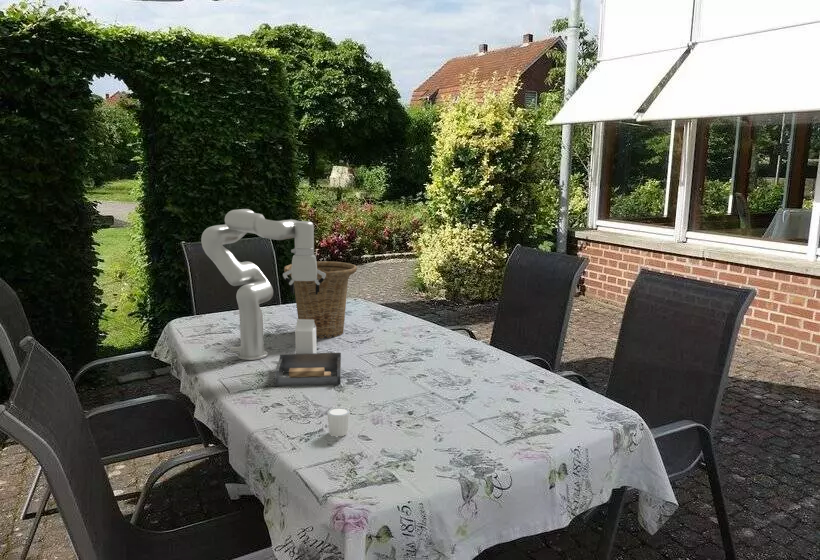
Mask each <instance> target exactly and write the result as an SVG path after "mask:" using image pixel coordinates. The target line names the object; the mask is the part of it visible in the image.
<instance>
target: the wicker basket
mask: <svg viewBox="0 0 820 560" xmlns="http://www.w3.org/2000/svg"><path fill="white" fill-rule="evenodd" d="M291 269H292V263H290V264H288V265H285V266H284V268H283V271H284V272H283V273H285V272H287V271H289V270H291ZM317 269H318V270H320V271H322V272H324V273H326V277H325V278H324V280H323V281H322V282H321V283H320V285H319V292H318V294H317V295H316V283H315V282H314V281H294V282H293V284H294V295H295V304H296V314H297V319H306V320H314V323H315V325H316V339H317V338H319V339H324V338H325V337H326V338H327V339H330V338H332V337H334V338H335V337H337V336H341V335H342V334H344V329H345V319H346V318H345V317H346V305H347V295H348V294H347V293H348V286H349V285H348V284H349V283H348V282H349V279H350V277H351V276H352V275H353V274H355V273H356V272H357V270H358V268H357V265H355V264H352V263H349V262H343V261H342V262H341V261H325V260H324V261H320V260H319V261H317ZM288 276H290V277H291V278H292V276H291V274H289V275H288ZM321 277H322V275H320V274H318V273H317V279H318V280H320V279H321Z"/></svg>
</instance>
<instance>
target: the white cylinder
mask: <svg viewBox="0 0 820 560" xmlns="http://www.w3.org/2000/svg"><path fill="white" fill-rule="evenodd" d="M326 413H327V423H328V432H329V435H330V436H331V435H332V436H331V437H333V436H343V437H345V436H344V435H346V436H347V435H348V434H349V425H350V415H351V414H350V413H351V411H350V409H349V408H346V407H345V408H344V407H333V408H331V409H329V410H327V411H326Z"/></svg>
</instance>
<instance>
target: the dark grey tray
mask: <svg viewBox="0 0 820 560" xmlns="http://www.w3.org/2000/svg"><path fill="white" fill-rule="evenodd" d="M341 360H342V353H341V352H318V353H302V354H296V353H280V354H279V358H278V361H277V364H276V366H275V370H274V377H275V378H274V380H275V381H274V383H275V385H274V386H275V387H290V386H291V387H292V386H293V387H295V386H296V387H297V386H300V387H301V386H329V385H331V386H332V385H336V386H337V384H340V385H341V380H342V378H341V377H342V361H341ZM322 367H324V369H325V372H331V371H330V370H334V371H336V375H331V376H319V377H290V376H288V377H286V376H285V377H283V375H284V374H283V373H284V372H283V371H289V370H290V368H322Z"/></svg>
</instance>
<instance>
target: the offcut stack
mask: <svg viewBox="0 0 820 560" xmlns="http://www.w3.org/2000/svg"><path fill="white" fill-rule="evenodd" d="M319 376H332V371H325V369H324V367H322V368H290V370H289V372H288V377H319Z"/></svg>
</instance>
